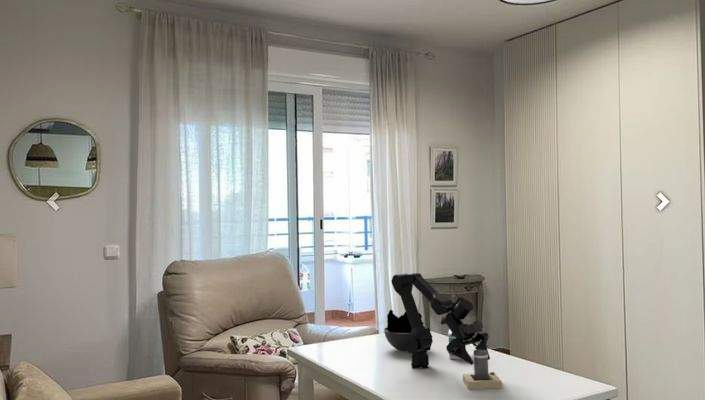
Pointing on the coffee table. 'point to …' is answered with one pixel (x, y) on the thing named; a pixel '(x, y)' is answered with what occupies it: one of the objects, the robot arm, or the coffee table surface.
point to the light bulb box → (449, 342)
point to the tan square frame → (482, 381)
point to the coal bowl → (398, 331)
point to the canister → (481, 365)
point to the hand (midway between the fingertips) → (480, 361)
